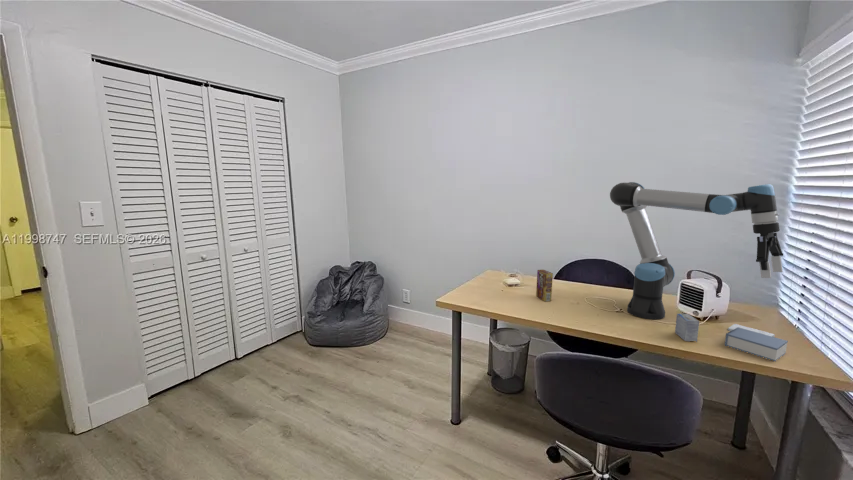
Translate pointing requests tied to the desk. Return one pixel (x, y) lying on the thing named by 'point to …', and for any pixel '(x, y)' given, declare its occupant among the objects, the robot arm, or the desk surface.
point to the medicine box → (687, 327)
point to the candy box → (544, 285)
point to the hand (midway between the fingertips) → (772, 274)
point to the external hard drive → (749, 329)
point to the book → (756, 343)
